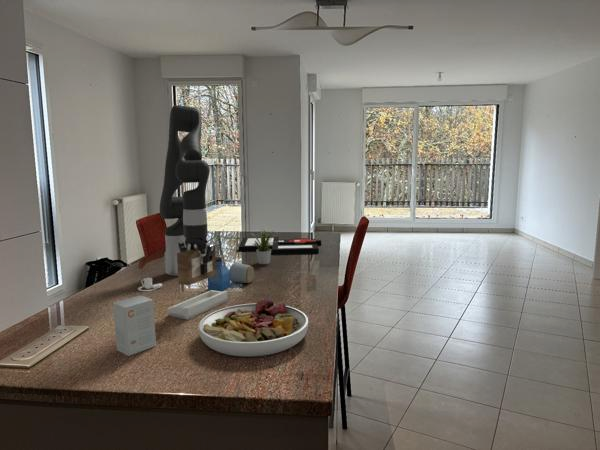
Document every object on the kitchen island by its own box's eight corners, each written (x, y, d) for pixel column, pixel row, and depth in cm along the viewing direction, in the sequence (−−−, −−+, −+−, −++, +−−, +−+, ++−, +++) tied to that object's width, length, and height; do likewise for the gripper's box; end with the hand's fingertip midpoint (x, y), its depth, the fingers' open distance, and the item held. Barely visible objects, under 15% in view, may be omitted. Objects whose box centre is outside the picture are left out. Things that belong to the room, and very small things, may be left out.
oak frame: (188, 285, 139) (187, 254, 138) (178, 283, 141) (176, 253, 140) (216, 274, 151) (215, 246, 150) (206, 273, 153) (205, 245, 152)
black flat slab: (236, 256, 227) (324, 254, 228) (236, 250, 226) (324, 248, 228) (243, 242, 262) (319, 241, 264) (243, 237, 262) (319, 236, 263)
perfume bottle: (230, 286, 172) (229, 256, 170) (222, 291, 166) (221, 260, 164) (216, 285, 174) (215, 255, 172) (208, 289, 168) (206, 259, 166)
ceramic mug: (247, 285, 173) (247, 266, 172) (228, 283, 175) (228, 264, 174) (258, 279, 183) (258, 260, 182) (240, 277, 185) (240, 259, 184)
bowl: (299, 365, 106) (298, 334, 105) (181, 358, 111) (179, 328, 110) (314, 320, 136) (314, 295, 135) (220, 316, 140) (219, 292, 139)
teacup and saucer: (165, 287, 173) (164, 277, 172) (149, 293, 166) (148, 283, 165) (149, 285, 177) (148, 275, 176) (133, 290, 170) (132, 280, 169)
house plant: (287, 263, 207) (286, 229, 205) (262, 268, 199) (261, 232, 197) (270, 258, 219) (269, 225, 216) (246, 262, 210) (245, 228, 208)
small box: (143, 340, 122) (140, 294, 120) (156, 346, 118) (153, 299, 116) (115, 350, 116) (111, 302, 114) (128, 356, 112) (124, 307, 110)
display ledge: (168, 315, 141) (167, 304, 140) (208, 297, 158) (208, 288, 158) (188, 319, 137) (187, 308, 137) (227, 300, 155) (227, 291, 154)
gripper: (220, 222, 143) (222, 273, 146) (186, 220, 150) (189, 269, 153) (205, 225, 137) (207, 279, 139) (170, 223, 143) (173, 274, 146)
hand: (197, 273), depth 146 cm, fingers closed on oak frame, 4 cm apart
